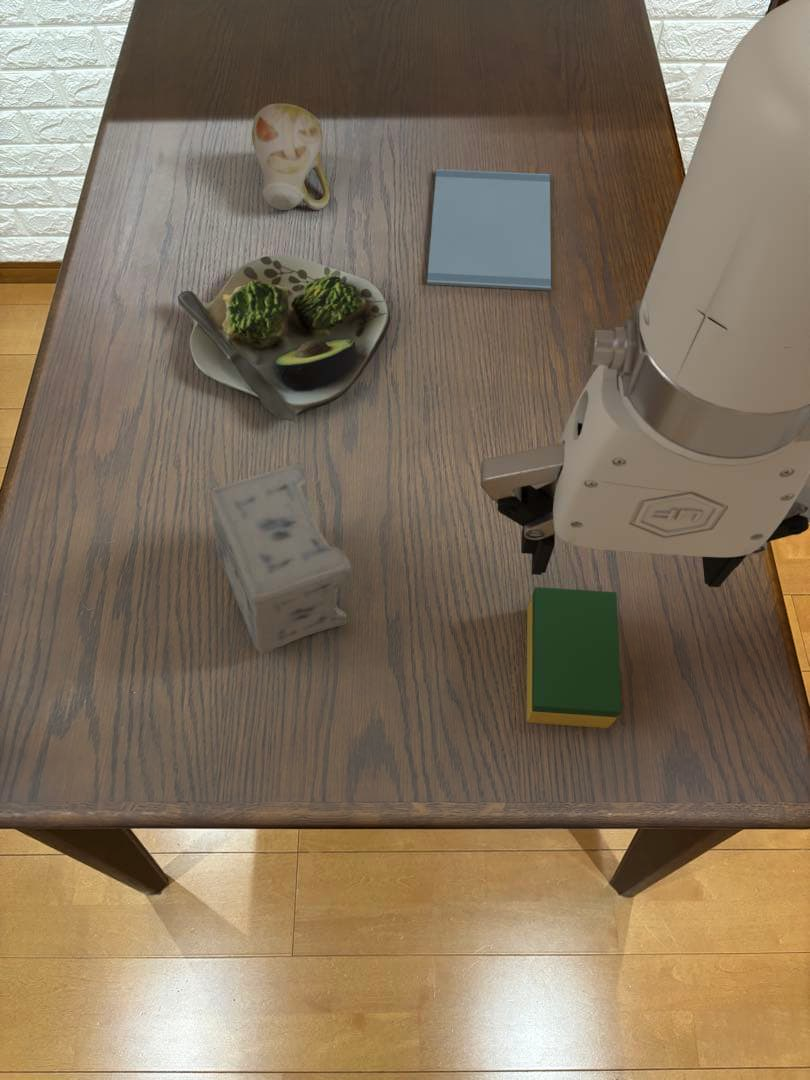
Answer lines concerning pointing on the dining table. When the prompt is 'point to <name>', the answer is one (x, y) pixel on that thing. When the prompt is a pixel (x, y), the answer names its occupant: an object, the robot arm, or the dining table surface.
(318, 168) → the mug
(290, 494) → the incense holder
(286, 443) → the dining table surface
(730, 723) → the dining table surface
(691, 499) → the robot arm
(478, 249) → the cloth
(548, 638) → the scrubber
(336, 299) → the salad plate
